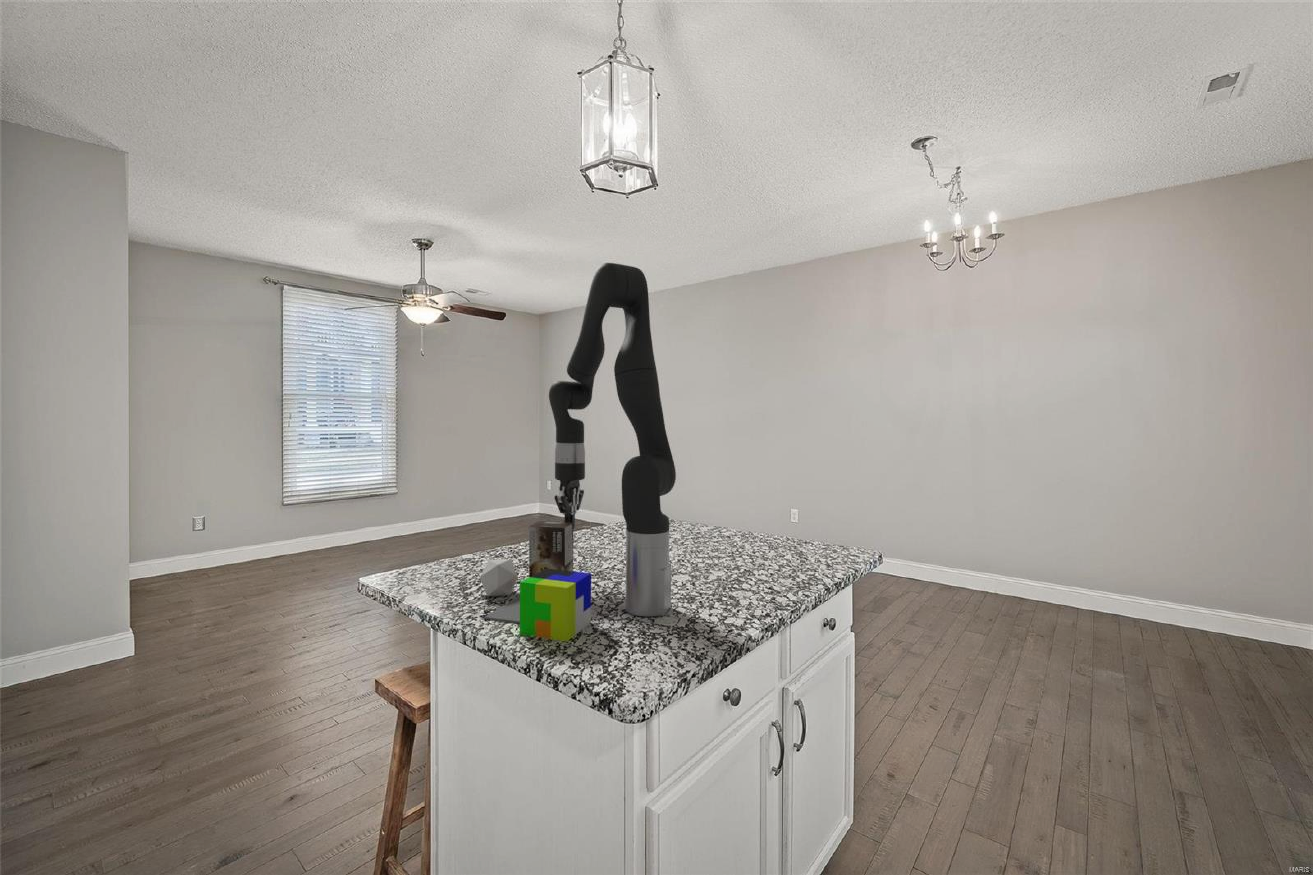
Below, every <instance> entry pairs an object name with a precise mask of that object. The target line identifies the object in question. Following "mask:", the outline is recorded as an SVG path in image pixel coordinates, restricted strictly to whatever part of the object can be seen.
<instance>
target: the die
mask: <svg viewBox="0 0 1313 875" xmlns="http://www.w3.org/2000/svg"><path fill="white" fill-rule="evenodd" d="M479 579H480V582H481V585H482V586H483V589H484V591H485V594H486V596H487V597H502V596H511V594H512V592H513V589H514V588H515V585H516V583H517V581H518V579H519V577H518V574H517V571H516V568H515V567H514V564H513V561H512V559H510V558H507V559H506V558H505V559H504V558H503V559H488V561H487V563H486V564H485V566H484V568H483V569H482V572H481V574H480V575H479Z"/></svg>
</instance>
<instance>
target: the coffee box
mask: <svg viewBox="0 0 1313 875" xmlns="http://www.w3.org/2000/svg"><path fill="white" fill-rule="evenodd" d="M547 568H548V569H556V570H565V571H574V529H573V522H564V521H543V520H541V521H539V520H538V521H535V523H533V524H532V525H529V526H528V578H529V577H531V576H533V575H535V574H537V573H539V572H541V571H543V570H545V569H547Z"/></svg>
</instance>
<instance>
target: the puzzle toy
mask: <svg viewBox="0 0 1313 875" xmlns="http://www.w3.org/2000/svg"><path fill="white" fill-rule="evenodd" d="M519 596H520V623H519V635H524V636H528V637H529V636H530V637H536V638H542V639H543V638H544V639H547V640H554V641H558V642H559V641H561V642H568V641H570V640H571V639H572V638H573V637H575V636H576V635H577V634H579V632H581V631H583V630H584V629H585V627H587V626H589V625H590V624H591V623H592V573H590V572H589V573H588V572H580V571H574V570H573V571H565V570H556V569H548V568H547V569H545V570H543V571H541V572H539V573H537V574H535V575H533V576H531V577H529V576H528V577H527V578H525V579H523V580H521V581H519Z"/></svg>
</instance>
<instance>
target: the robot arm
mask: <svg viewBox="0 0 1313 875" xmlns="http://www.w3.org/2000/svg"><path fill="white" fill-rule="evenodd" d="M649 302H650V300H649V287H648V281H647V277H646V276H645V273H644V272H643V271H642V270H641V269H640V268H638V267H635V266H631V265H625V264H621V263H613V262H604V263H602V264H601V265H600V266H599V267H598V268H597V270H596V271H595V273H594V276H593V279H592V282H591V284H590V288H589V293H588V297H587V301H586V306H585V310H584V314H583V318H582V324H581V327H580V332H579V336H578V338H577V342H576V344H575V347H574V349H573V351H572V354H571V356H570V359H569V361H568V363H567V366H566V373H567V376H569V377H570V379H571V380H573V381H569V380H568V381H565V380H557V381H555V382H553V383H552V384H551V386H550V387H549V390H548V400H549V405H550V407H551V410H552V411H551V412H552V415H553V419H554V420H553V421H554V425H555V449H554V478H555V480H556V481H559V487H558V488H559V489H558V490H559V493H558V494H555V495H554V501H555V503H556V506H557V508H558V511H559V513H560V514H563V515H564V521H563V522H573V530H574V529H575V527H576V514H577V511H579V510H580V508H581V504H582V501H583V498H584V495H585V490H584V489H581V483H580V481H582V480H585V478H586V449H585V424H584V421H583V420H581V419H579V418H578V419H577V418H573V417H572V416H571V415H570V412H569V411H568V410H571V411H572V410H574V411H575V410H576V411H578V410H579V411H581V410H584V409H586V408H587V407H588V406H590V404H591V402H592V399H593V389H594V382H595V376H596V374H597V372H598V371H599V368H600V366H601V364H602V362H603V358H604V356H605V348H606V346H605V339H604V333H603V332H604V331H603V321H604V318H605V316H606V314H607V312H608V310H609V309H610V308H618V309H622V310H623V313H624V319H625V320H624V323H625V332H624V338H623V341H622V344H621V346H620V348H619V351H618V352H617V355H616V358H615V361H614V362H615V363H614V367H613V368H614V369H613V371H614V373H613V374H614V380H615V387H616V393H617V397H618V400H619V403H620V405H621V407H622V409H623V411H624V413H625V415H626V417H627V419H628V420H629V422H630V424H631V426H632V427H633V430H634V433H635V436H636V438H637V439H636V440H637V445H638V452H639V455H637V456H634V457H632V458H630V459H629V460H627V462H626V463H625V465H624V467H623V470H622V474H621V499H622V500H621V501H622V502H621V505H622V514H623V518H624V520H625V529H626V530H625V533H626V534H625V537H626V538H625V598H624V599H625V611H626V612H627V613H628V614H630V615H633V616H638V617H655V616H662V617H663V616H665V615H667V613H668V611H670V608H671V607H672V563H670V519H669V516H668V515H666V514H664V513H663V512H662V508H661V496H665V495H667V494H669V493H670V492H671V491H672V490H673V488H674V486H675V484H676V479H677V477H676V476H677V472H676V466H675V462H674V458H673V454H672V450H671V447H670V443H669V439H668V435H667V429H666V424H665V416H664V413H663V412H664V411H663V406H662V401H661V400H662V399H661V393H660V386H659V385H660V384H659V377H658V371H657V366H656V359H655V354H654V346H653V339H652V333H651V332H652V331H651V320H650V303H649Z"/></svg>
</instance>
